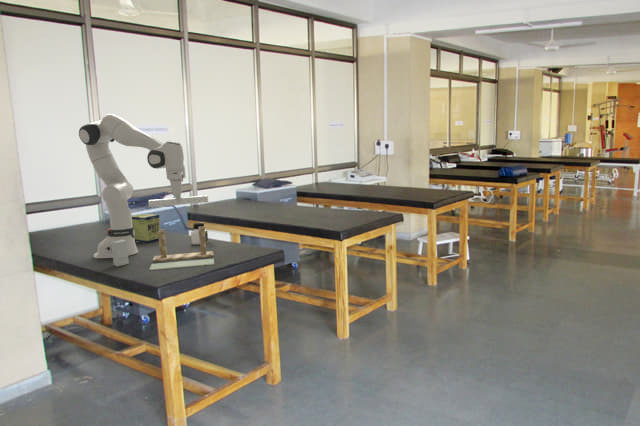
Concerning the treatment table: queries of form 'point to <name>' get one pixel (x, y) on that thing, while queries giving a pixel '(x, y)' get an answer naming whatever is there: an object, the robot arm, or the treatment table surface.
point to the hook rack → (166, 257)
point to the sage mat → (182, 264)
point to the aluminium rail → (173, 202)
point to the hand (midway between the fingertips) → (178, 202)
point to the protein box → (146, 227)
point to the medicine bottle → (197, 233)
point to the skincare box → (120, 252)
